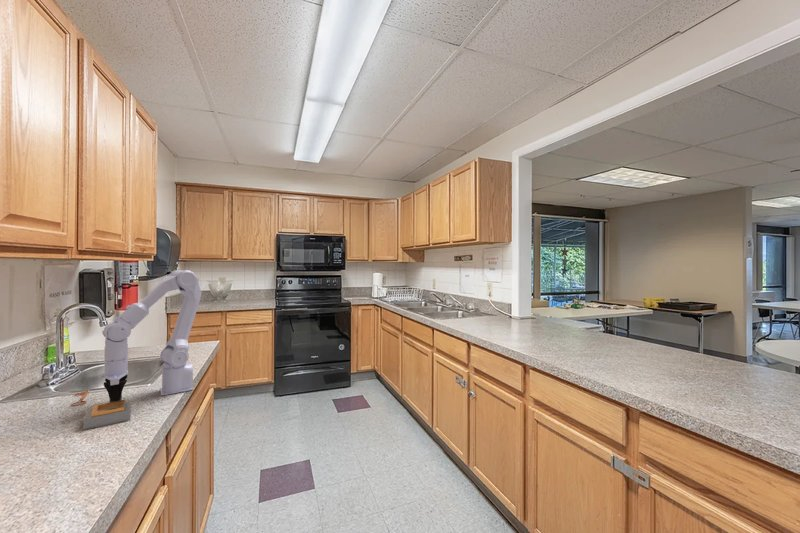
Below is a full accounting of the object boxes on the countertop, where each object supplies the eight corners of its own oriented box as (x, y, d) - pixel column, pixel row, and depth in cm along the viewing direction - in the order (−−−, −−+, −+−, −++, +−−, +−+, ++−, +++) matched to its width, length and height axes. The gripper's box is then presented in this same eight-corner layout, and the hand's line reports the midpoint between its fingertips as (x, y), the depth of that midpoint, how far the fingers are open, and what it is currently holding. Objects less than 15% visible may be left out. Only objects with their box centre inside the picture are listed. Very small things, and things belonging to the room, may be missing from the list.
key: (73, 395, 116) (60, 410, 104) (73, 392, 116) (60, 407, 104) (95, 390, 120) (85, 404, 107) (95, 388, 120) (85, 402, 107)
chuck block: (130, 410, 103) (131, 397, 103) (130, 420, 97) (130, 406, 97) (87, 419, 97) (87, 405, 97) (83, 430, 91) (83, 415, 91)
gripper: (101, 356, 110) (101, 396, 110) (97, 366, 99) (96, 411, 99) (129, 352, 115) (128, 391, 115) (127, 362, 103) (127, 405, 103)
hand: (115, 400), depth 107 cm, fingers closed on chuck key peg, 3 cm apart
